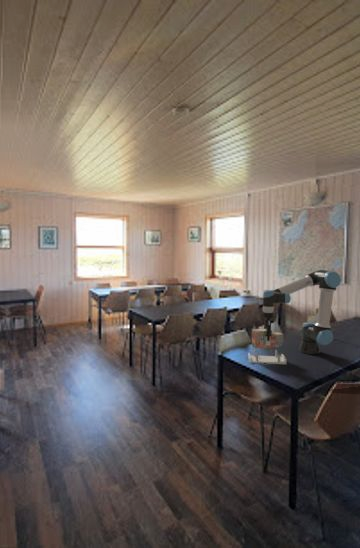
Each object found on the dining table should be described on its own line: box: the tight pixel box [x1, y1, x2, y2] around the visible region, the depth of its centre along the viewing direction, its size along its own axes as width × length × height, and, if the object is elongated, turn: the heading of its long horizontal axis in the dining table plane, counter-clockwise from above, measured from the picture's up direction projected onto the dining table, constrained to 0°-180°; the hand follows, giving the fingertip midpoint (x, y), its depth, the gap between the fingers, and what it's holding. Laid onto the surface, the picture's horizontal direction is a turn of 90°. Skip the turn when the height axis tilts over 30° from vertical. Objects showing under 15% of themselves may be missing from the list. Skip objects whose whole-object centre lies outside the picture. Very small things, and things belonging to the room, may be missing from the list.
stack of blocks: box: [251, 328, 284, 349], centre depth 230 cm, size 21×6×12 cm, turn 102°
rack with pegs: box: [247, 348, 288, 365], centre depth 231 cm, size 25×13×6 cm, turn 84°
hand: (266, 343), depth 230 cm, fingers closed on stack of blocks, 7 cm apart
